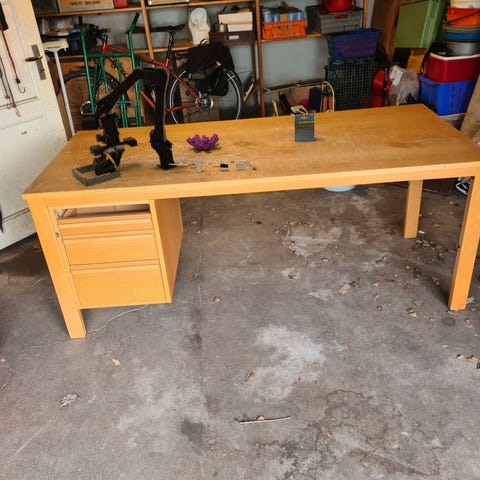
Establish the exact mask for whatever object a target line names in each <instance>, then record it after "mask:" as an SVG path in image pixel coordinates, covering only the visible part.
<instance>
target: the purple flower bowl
mask: <svg viewBox="0 0 480 480" xmlns="http://www.w3.org/2000/svg"><path fill="white" fill-rule="evenodd" d="M201 136H202V137H201ZM201 136H200V135H199V134H198V133H196V134H195V135H194V136H193V137H190V136H189V137H187V138H186V140H185V141H186V142H187V144H188V145H190V146H192V147H193V148H195V149H197V150H208V149H209V148H213V147H214V146H216V144H218V142H219V140H220V137H219V134H216V133H213V134H212V136H210V137H209V136H207V135H206V134H204V135H201Z"/></svg>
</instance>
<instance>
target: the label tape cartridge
mask: <svg viewBox="0 0 480 480" xmlns="http://www.w3.org/2000/svg"><path fill="white" fill-rule="evenodd" d="M314 141H315V113H313V114H312V113H311V114H294V142H295V143H297V142H298V143H299V142H314Z"/></svg>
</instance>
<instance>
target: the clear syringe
mask: <svg viewBox="0 0 480 480" xmlns="http://www.w3.org/2000/svg"><path fill="white" fill-rule="evenodd" d="M228 156H229V157H228V158H229V159H230V160H232V158H233V155H232V154H229V155H228ZM222 161H223V160H222V159H219V161H218V162H217V161H216V162H213V161H211V160H209V161H208V162H206V163H204V162H203V160H202V159H201V157H200V156H198V155H197V156H196V159H190V160H189V161H188V163H186V157H180V161H173V163H175V164H169V165H178V166H188V165H189V164H190V165H193V164H194V165H195V166H196V172H197V173H201V171H202V170H201V166H202V167H204V166H206V167H208V166H209V165H213V164H216V165H215V166H216V167H219V168H220V169H223V168H224V169H229V168H230V167H229V164H230V163H225V162H224V161H223V162H222ZM233 164H234V165H235V167H234V168H233V169H235V170H243V169H245V168H247V167H251V168H256V167H257V165H256V164H254V163H253V164H251V163H250V160H244V159H241V160H240V159H237V160H236V162H234V163H233Z"/></svg>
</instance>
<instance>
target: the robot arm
mask: <svg viewBox="0 0 480 480" xmlns="http://www.w3.org/2000/svg"><path fill="white" fill-rule="evenodd" d="M170 75H171V74H170V70H169V69H168V68H167V67H166V66H164V65H159V66H157V67H151V66H150V67H147V66H146V67H143V66H136V67H135V68H134V69H133V70H132V71H131V72H130V74H129V75H128V76H127V77H125V79H124V80H122V81H121V83H119V84H118V86H116V87H115V88H114V89H113V90H112V91H110V92H109V93H107V94H105V95H103V96H102V97H100V99H99V100H97V102H96V110H95V112H87V113H86V112H83V113H82V114H81V128H82V130H83V131H84V132H87V131H89V132H91V131H99V130H100V128H102V130H103V131H102V134H101V133H96V134H95V141H96V142H97V143H101V144H102V145H103V146H102V145H100V144H96V145H91V146H89V150H88V151H89V153H90V154H91V155H93V156H94V157H99V156H101V155H103V153H105V154H106V155H107V156H108V155H109V156H110V159H112V162H113V163H114V165H115V167H119V166H120V164H121V160H122V156H123V154H124V152H125V151H126V149H125V146H128V147H130V148H134V147H138V140H137V139H136V138H134V137H132V136H128V137H124V138H122V140H121V139H120V134H121V133H120V131H119V128H118V123H117V119H119V118H120V117H122V116H121V114H120V113H119V112H117V111H116V110H114V111H113V112H112V110H113V109H114V108H115V107H116V105H117V104H118V102H119V100H121V97H123V96H124V95H125V94H126V92H128V91H129V90H130V89H131V88H132V87H133V86H134V85H135V84H136V83H137V82H138V81H139V80H144V81H149V82H152V84H153V88H154V93H155V94H154V96H155V97H154V127H153V128H151V129H150V131H149V133H148V134H149V141H148V143H149V144H150V147H151V149H152V150H153V151H155V153H156V154H157V155H158V160H159V164H156V165H157V167H158V168H160V169H161V170H168V169H171V168H176V167H178V166H179V165H169V164H176V163H173V161H174V155H173V154H174V153H173V150H172V149H173V145H174V144H173V143H172V141H170V140H168V137H167V131H166V128H165V117H166V116H165V115H166V92H167V87H168V85H169V80H170V79H169V78H170ZM110 112H111V113H110ZM174 162H175V161H174Z"/></svg>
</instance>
